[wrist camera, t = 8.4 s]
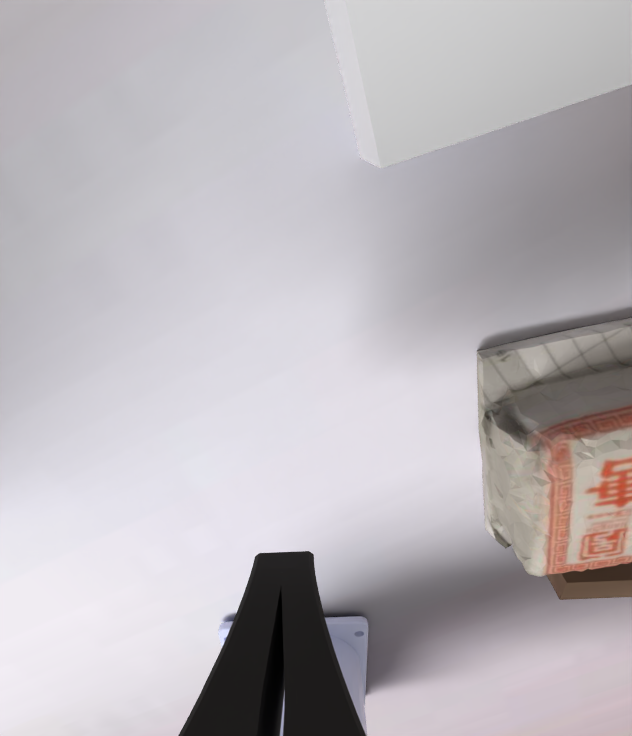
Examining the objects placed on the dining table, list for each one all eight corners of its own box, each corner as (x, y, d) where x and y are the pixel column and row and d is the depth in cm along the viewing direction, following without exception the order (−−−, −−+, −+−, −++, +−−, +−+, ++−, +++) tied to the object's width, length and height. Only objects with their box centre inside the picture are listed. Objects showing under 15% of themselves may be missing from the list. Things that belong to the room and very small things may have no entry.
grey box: (535, 98, 12) (633, 83, 8) (359, 158, 12) (381, 168, 9) (523, -160, 9) (654, -334, 6) (307, -69, 10) (307, -177, 6)
